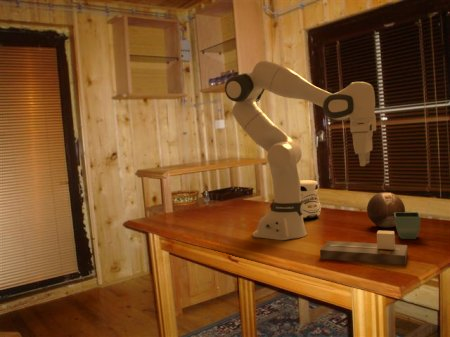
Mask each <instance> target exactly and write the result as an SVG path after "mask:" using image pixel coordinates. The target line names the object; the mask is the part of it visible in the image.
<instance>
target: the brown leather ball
mask: <svg viewBox="0 0 450 337" xmlns="http://www.w3.org/2000/svg"><path fill="white" fill-rule="evenodd" d="M396 212H406V208H405V204H404V201H403V200H402V199H401V198H400V196H398V195H396V194H395V193H392V192H388V191H382V192H379V193H375V195H373V196H372V197H370V199H369V201H368V202H367V205H366V213H367V216H368V219H370V221H371V222H372V223H373V224H374V225H376V226H377V227H380V228H384V229H385V228H387V229H389V228H390V229H391V228H393V227H396V223H395V216H394V213H396Z"/></svg>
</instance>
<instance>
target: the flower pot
mask: <svg viewBox="0 0 450 337" xmlns="http://www.w3.org/2000/svg"><path fill="white" fill-rule="evenodd" d="M394 216H395V223H396V226H395V228H396V232H397V234H398V237H400V239H402V240H416V239H417V237H418V236H419V233H420V230H421V229H420V228H421V214H420V212H417V211H416V212H413V211H412V212H411V211H410V212H407V211H405V212H396V213H394Z"/></svg>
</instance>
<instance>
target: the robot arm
mask: <svg viewBox="0 0 450 337" xmlns="http://www.w3.org/2000/svg"><path fill="white" fill-rule="evenodd" d="M265 90H266V91H268V92H270V93H272V94H274V95H276V96H279V97H282V98H287V99H298V100H301V101H302V100H303V101H307V102H310V103H312V104H315V105H316V106H318V107H321V108H322V111H323V113H324V115H325V116H326V117H327V118H329V119H332V120H336V121H341V122H347V121H350V124H349V125H350V127H349V128H350V133H351V134H352V135H351V136H352V144H353V150H354V154H355V155H358V160H359V166H360V167H366V165H368V164H370V154H371V151H373V136H374V135H373V132H376V131H377V117H376V114H375V108H376V95H375V90H374V86H373V85H372V84H370V83H369V82H365V81H354V82H351V83H350V84H349V85H347V86H346V87H345V88H343V89H341V90H339V91H337V92H334V93H332V92H328V91H327V90H325V89H322V88H320V87H317V86H315V85H314V84H312V83H311V82H309V81H308V80H306V79H305V78H304V77H302V76H301V75H299V74H298V73H296V71H293V70H291V68H288V67H286V66H283V65H281V64H279V63H275V62H272V61H267V60H260V61H258V62H257V63H256V64H255V65H254V67H253V70H252V71H251V72H245V73H243V72H242V73H241V74H236V75H234V76H232V77H230V78H228V79H227V81H226V82H225V85H224V94H225V95H226V97H227V99H229V100H230V101H231V102H235V104H234V105H233V106H232V109H231V113H232V115H233V117H234V119H235V121H236V122H237V123H238V125H239V126H240V128H241V129H243V131H244V132H245V133H246V134H247V135H248V136H249V137H250V138H251V139H252V141H253V142H255V144H256V145H258V146H259V147H261V148H262V149H263V150H264V151H266V153H267V161H268V164H269V171H270V174H271V179H272V183H273V199H274V201H272V202H271V203H270V204H269V205H268V208H270V211H269V212H267V213H266V214H265V215H264V216H263V217H261V218H260V219H259V220H258V224H257V229H256V230H255V231H254V232H252V237H254V238H259V239H260V238H262V239H270V240H276V241H277V240H278V241H287V240H292V239H299V238H303V237H306V236H307V235H308V233H307V230H306V227H305V223H304V219H303V216H302V214H303V205H302V201H301V188H300V180H301V179H300V177H299V173H298V167H297V165H298V163H300V161H301V160H302V149H301V147H300V146H299V145H298V144H297V143H296V142H295V141H294V140H293V139H292V138H291V137H290V136H289V135H287V134H286V133H285V131H283V130H282V129H280V128H279V126H277V125H276V124H275V123H274V122H273V120H271V119H270V118H269V116H267V114H266V113H265V112H264V111H263V110H262V109H261V108H260V107H259V106H258V104H257V102H259V101H260V100H261V98H262V96H263V93H264V92H265Z"/></svg>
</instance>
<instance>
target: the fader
mask: <svg viewBox="0 0 450 337" xmlns="http://www.w3.org/2000/svg"><path fill="white" fill-rule="evenodd" d="M395 234H396V233H395V231H394V230H377V232H376V244H377V249H391V250H394V248H395V245H396V238H395V236H396V235H395Z"/></svg>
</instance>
